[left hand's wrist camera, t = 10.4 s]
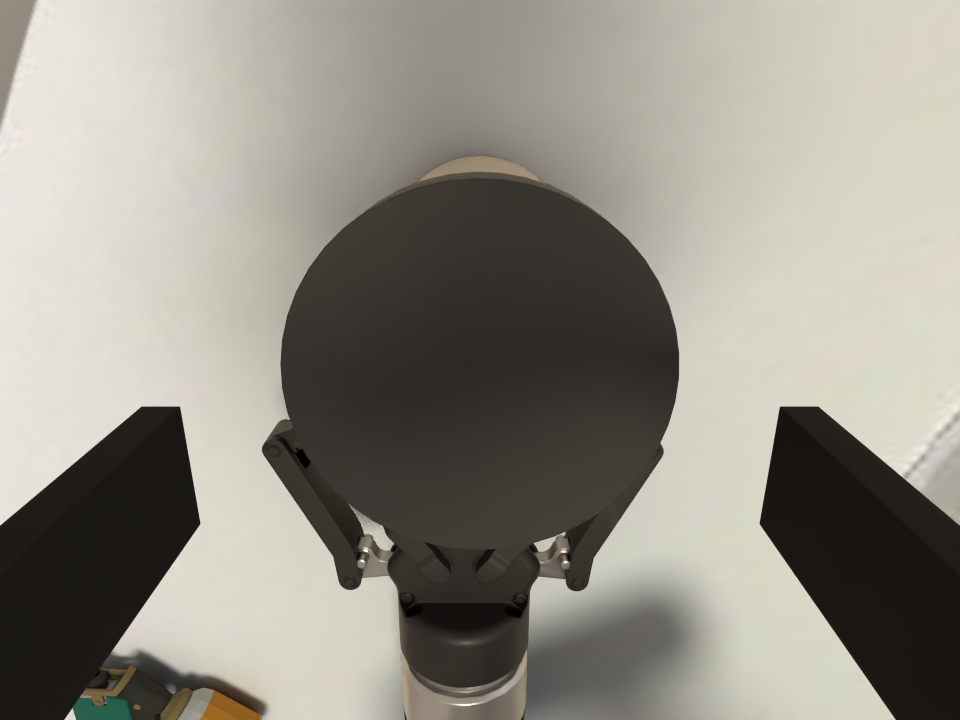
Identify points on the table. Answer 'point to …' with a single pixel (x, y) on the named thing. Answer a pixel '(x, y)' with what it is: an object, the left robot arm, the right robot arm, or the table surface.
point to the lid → (479, 362)
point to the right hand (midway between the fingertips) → (462, 293)
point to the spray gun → (152, 700)
